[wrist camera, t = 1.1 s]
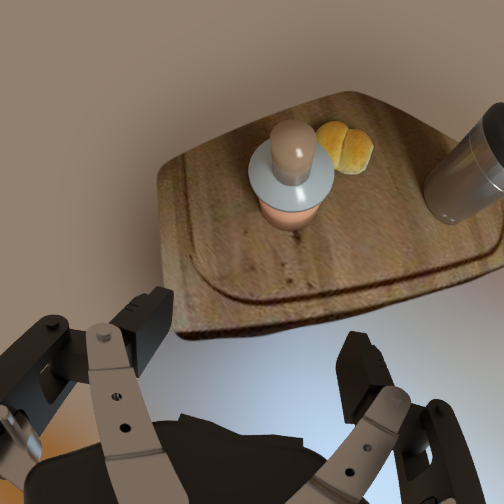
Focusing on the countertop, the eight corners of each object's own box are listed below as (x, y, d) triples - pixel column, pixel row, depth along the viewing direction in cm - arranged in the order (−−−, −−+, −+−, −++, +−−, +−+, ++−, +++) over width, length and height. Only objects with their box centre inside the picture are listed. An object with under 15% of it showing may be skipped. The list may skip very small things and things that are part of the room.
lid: (279, 131, 31) (277, 87, 24) (345, 169, 30) (361, 129, 22) (234, 187, 31) (219, 151, 23) (303, 232, 29) (311, 205, 21)
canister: (280, 167, 39) (280, 132, 31) (328, 196, 38) (340, 166, 29) (248, 210, 38) (239, 183, 30) (297, 242, 37) (303, 223, 28)
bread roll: (322, 121, 40) (325, 106, 36) (374, 144, 39) (381, 130, 35) (303, 160, 39) (305, 146, 35) (359, 185, 38) (367, 173, 34)
